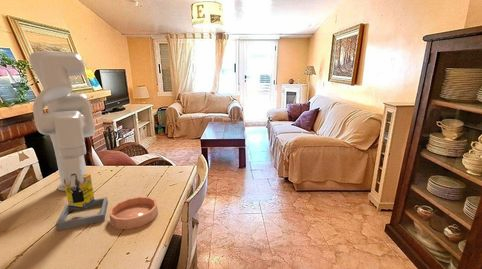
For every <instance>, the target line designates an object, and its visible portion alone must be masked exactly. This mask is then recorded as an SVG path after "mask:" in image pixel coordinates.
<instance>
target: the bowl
mask: <svg viewBox="0 0 482 269" xmlns="http://www.w3.org/2000/svg"><path fill="white" fill-rule="evenodd" d="M157 203H158V202H157V199H154V198H152V197H150V196H136V197H129V198H127V199H124V200H121V201H120V202H117V203H116V204H114V205H113V206H112V207H111V208H110V209H109V215H108V216H109V222H110V225H112V226H113V227H114V228H116V229H120V230H121V229H123V230H131V229H135V228H139V227H143V226H145V225H147V224H148V223H150V222H152V221H153V220H154V219H155V218H156V217H157V216H158V214H159V210H158V204H157Z"/></svg>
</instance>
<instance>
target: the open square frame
mask: <svg viewBox="0 0 482 269" xmlns="http://www.w3.org/2000/svg"><path fill="white" fill-rule="evenodd" d="M108 205H109V201H108V196H106V197H100V198H94V201H93V202H91V203H90V204H88V205H87V206H85V207H84V208H83V209H87V208H92V207H98V206H101V211H100V213H99V214H98V213H97V214H93V215H88V216H81V217H78V218H72V219H67V217H68V215H69V213H70V212H71V211H72V212H73V211H76V210H82V209H81V208H73V207H69V205H68V203H66V204H65V205H64V207H63V209H62V211H61V213H60V215H59V217H58V219H57V221H56V223H55V229H56V231H57V232H58V231H59V232H60V231H63V230H68V229H71V228H72V229H73V228H78V227H83V226H86V225H87V226H88V225H92V224H96V223H100V222H101V223H102V222H105V221H106V215H107V210H108V209H107V208H108Z"/></svg>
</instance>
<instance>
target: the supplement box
mask: <svg viewBox="0 0 482 269" xmlns="http://www.w3.org/2000/svg"><path fill="white" fill-rule="evenodd" d="M76 183H79V181H78V180H76ZM64 184H65V189H66V191H65V193H66V200H67V204H68V205H69V207H73V208H81V209H80V210H84V209H85V208H84V207H85V206H87V205H88V204H90V203H91V202H93V201H94V199H95V196H94V189H93V182H92V176H91V174H90V173H86V174H85V177H84V182H83V183H82V184H81V191H83V196H84V201H83V202H78V203H73V199H72V193H71V186H70V185H71V184H70V185H69V186H67V185H66V181H65V179H64ZM76 187H78V188H79V185H76Z"/></svg>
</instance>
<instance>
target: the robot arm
mask: <svg viewBox="0 0 482 269" xmlns="http://www.w3.org/2000/svg"><path fill="white" fill-rule="evenodd" d="M82 58H83V57H81V55H79V54H78V53H76V52H71V51H70V52H69V51H52V50H51V51H47V50H45V51H34V52H32V53H30V54H29V58H28V59H29V63H30V65H31V69H32V70H33V72H34V74H35V75H36V77H37V78H38V80H39V81H40V83H41V85H42V87H43V88H42V90H41V91H40V92H39V93H38V94H37V96H36V97H35V99H34V101H33V103H32V104H33V105H32V114H33V118H34V119H33V120H34V124H35V128H36V129H37V131H38V133H40V134H42V135H49V137H50V141H51V142H52V145H53V150H54V154H55V158H56V164H57V168H58V174H59V178H60V179H59V180H60V183H59V184H58V185H57V190H58V191H62V192H66V189H65V184H64V179H65V181H66V185H67V186H69V185H70V184H71V185H70V186H71V193H72V199H73V203H78V202H83V201H84V196H83V191H81V184H82V183H83V182H84V177H85V174H87V166H86V161H85V155H86V154H87V148H86V143H85V138H89V137H93V136H94V135H95V133H96V127H95V126H96V125H95V121H94V115H93V111H92V107H91V102H90V100H89V98H88V96H87V95H86V94H84V93H72V92H73V85H72V82H71V78H70V76H71V77H74V76H75V77H76V76H78V77H80V76H84V75H85V71H86V66H85V63H84V60H83V59H82ZM45 108H47V110H48V112H44V109H45ZM76 180H78V181H79V183H76ZM76 185H79V188H78V187H76Z"/></svg>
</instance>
